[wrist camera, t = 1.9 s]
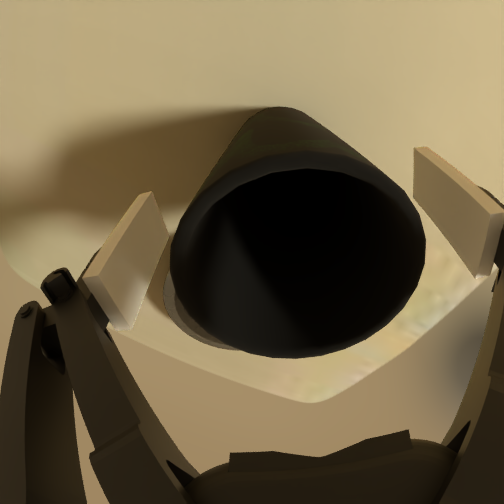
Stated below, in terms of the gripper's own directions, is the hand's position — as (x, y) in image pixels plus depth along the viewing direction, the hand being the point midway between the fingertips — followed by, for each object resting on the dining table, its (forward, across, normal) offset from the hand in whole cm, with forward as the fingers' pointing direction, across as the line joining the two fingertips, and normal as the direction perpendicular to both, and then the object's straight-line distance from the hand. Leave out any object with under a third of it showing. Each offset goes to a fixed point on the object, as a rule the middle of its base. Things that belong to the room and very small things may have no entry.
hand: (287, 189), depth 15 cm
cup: (+5, 0, 0) cm, 5 cm away
